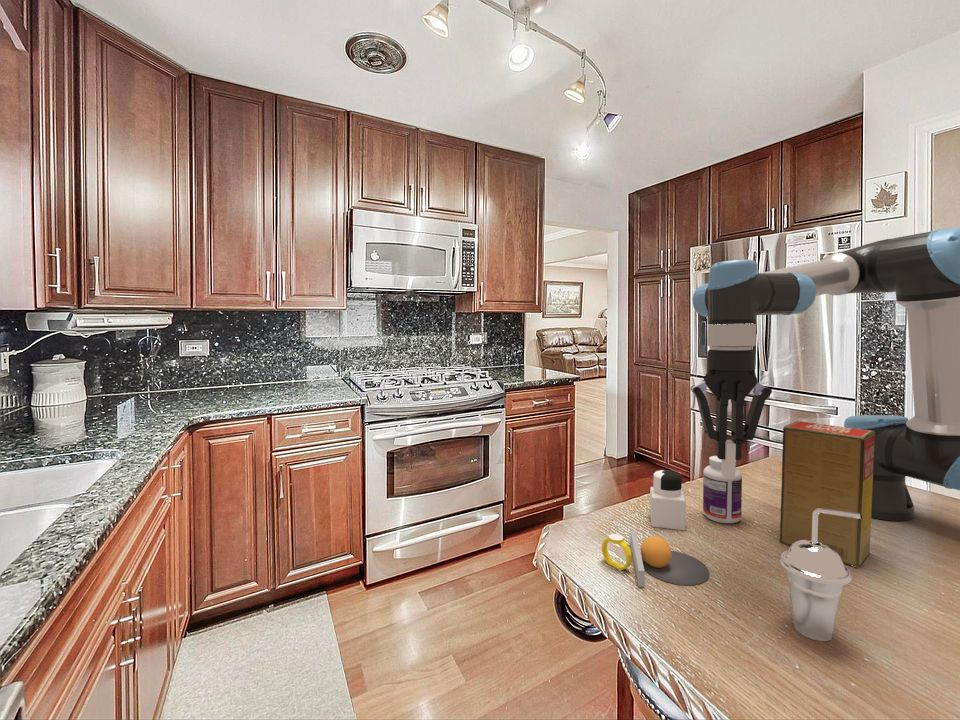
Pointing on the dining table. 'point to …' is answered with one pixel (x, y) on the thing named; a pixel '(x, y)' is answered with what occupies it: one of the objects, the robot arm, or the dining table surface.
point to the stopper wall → (637, 559)
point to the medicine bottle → (667, 501)
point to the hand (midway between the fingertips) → (728, 476)
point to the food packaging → (828, 486)
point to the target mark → (680, 570)
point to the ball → (656, 552)
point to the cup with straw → (815, 581)
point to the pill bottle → (721, 493)
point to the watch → (620, 540)
